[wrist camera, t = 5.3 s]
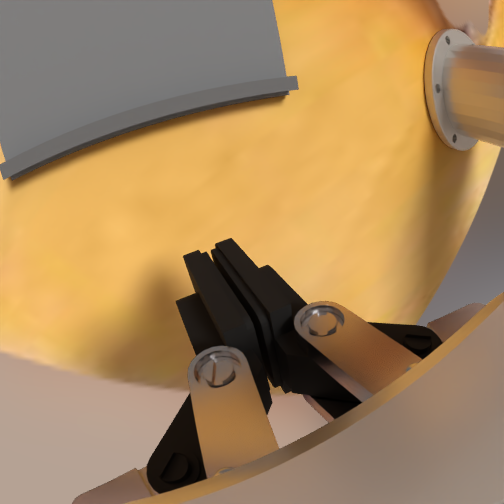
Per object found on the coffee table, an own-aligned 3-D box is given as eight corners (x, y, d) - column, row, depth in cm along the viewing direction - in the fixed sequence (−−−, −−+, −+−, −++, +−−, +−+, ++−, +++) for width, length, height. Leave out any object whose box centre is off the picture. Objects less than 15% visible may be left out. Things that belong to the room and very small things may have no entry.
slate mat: (250, -74, 10) (261, -84, 9) (286, 94, 17) (299, 94, 15) (-16, -13, 6) (-25, -20, 5) (14, 179, 12) (5, 185, 11)
